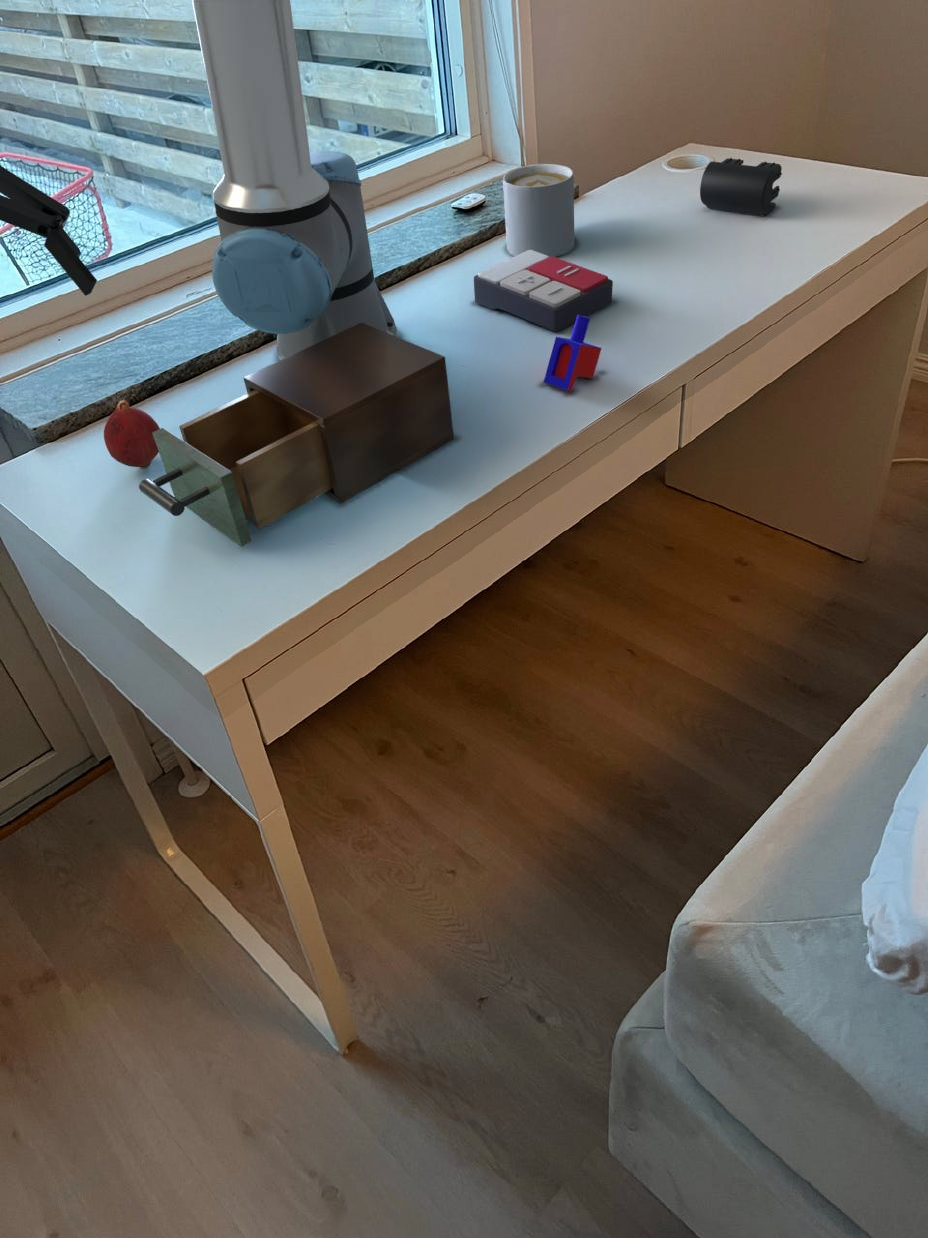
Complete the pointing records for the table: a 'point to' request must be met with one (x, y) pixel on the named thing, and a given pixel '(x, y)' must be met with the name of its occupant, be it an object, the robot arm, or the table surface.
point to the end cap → (740, 186)
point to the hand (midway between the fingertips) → (39, 314)
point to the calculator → (542, 289)
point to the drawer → (241, 465)
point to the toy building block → (572, 357)
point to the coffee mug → (539, 209)
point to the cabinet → (365, 402)
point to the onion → (131, 436)
